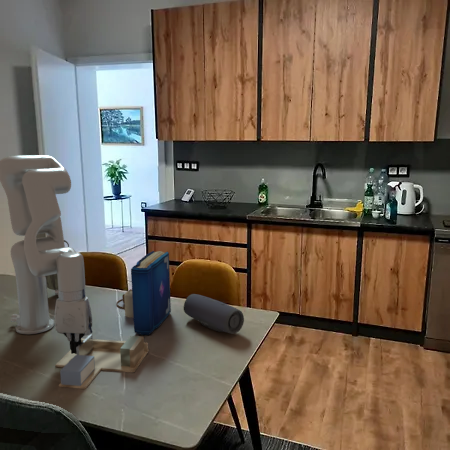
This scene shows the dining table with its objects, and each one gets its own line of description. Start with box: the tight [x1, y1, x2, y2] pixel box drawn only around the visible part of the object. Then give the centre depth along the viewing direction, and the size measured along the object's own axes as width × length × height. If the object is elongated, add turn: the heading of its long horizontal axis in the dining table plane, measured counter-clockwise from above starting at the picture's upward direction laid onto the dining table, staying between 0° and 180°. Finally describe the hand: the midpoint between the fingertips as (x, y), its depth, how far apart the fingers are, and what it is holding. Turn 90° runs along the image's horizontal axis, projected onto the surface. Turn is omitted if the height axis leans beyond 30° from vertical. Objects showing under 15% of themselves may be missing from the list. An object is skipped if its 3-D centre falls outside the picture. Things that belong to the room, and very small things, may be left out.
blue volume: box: [130, 250, 172, 336], centre depth 156 cm, size 22×7×25 cm, turn 168°
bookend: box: [76, 333, 94, 356], centre depth 133 cm, size 3×9×5 cm, turn 172°
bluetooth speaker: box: [183, 293, 245, 335], centre depth 156 cm, size 23×9×10 cm, turn 45°
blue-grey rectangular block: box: [59, 355, 95, 386], centre depth 122 cm, size 6×9×4 cm, turn 172°
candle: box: [123, 288, 134, 319], centre depth 166 cm, size 6×6×10 cm
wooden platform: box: [55, 335, 150, 390], centre depth 128 cm, size 24×24×6 cm
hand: (76, 351), depth 133 cm, fingers closed
